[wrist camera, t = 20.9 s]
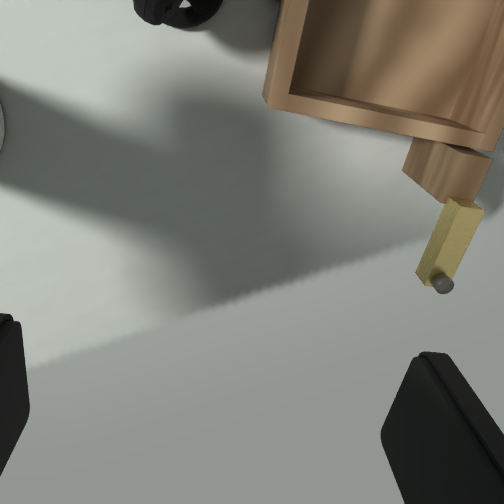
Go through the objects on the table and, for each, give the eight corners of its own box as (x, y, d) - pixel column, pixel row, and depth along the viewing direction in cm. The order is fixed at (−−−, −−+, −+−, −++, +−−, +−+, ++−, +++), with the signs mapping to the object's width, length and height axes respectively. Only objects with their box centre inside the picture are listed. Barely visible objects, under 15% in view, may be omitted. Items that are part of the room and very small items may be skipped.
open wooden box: (252, 142, 39) (258, 170, 31) (298, -90, 31) (319, -127, 24) (433, 176, 41) (478, 209, 34) (517, -32, 33) (600, -49, 26)
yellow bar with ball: (415, 272, 36) (429, 292, 33) (448, 196, 33) (467, 211, 30) (436, 276, 36) (453, 295, 34) (471, 200, 33) (492, 215, 31)
